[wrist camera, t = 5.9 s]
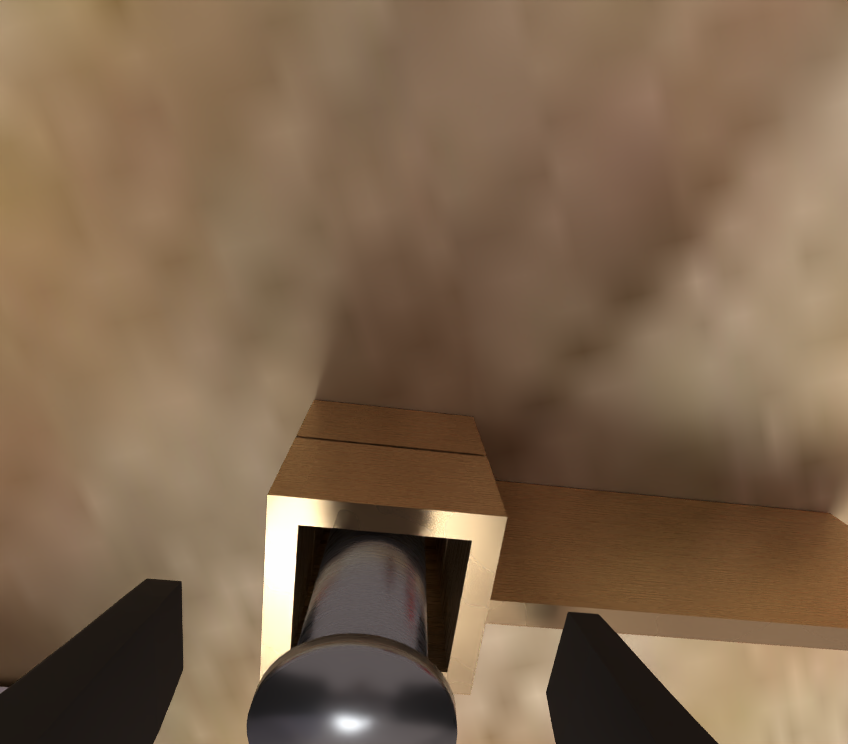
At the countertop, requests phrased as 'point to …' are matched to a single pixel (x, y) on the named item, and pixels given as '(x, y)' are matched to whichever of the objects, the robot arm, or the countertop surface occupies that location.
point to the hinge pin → (359, 654)
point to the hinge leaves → (540, 545)
